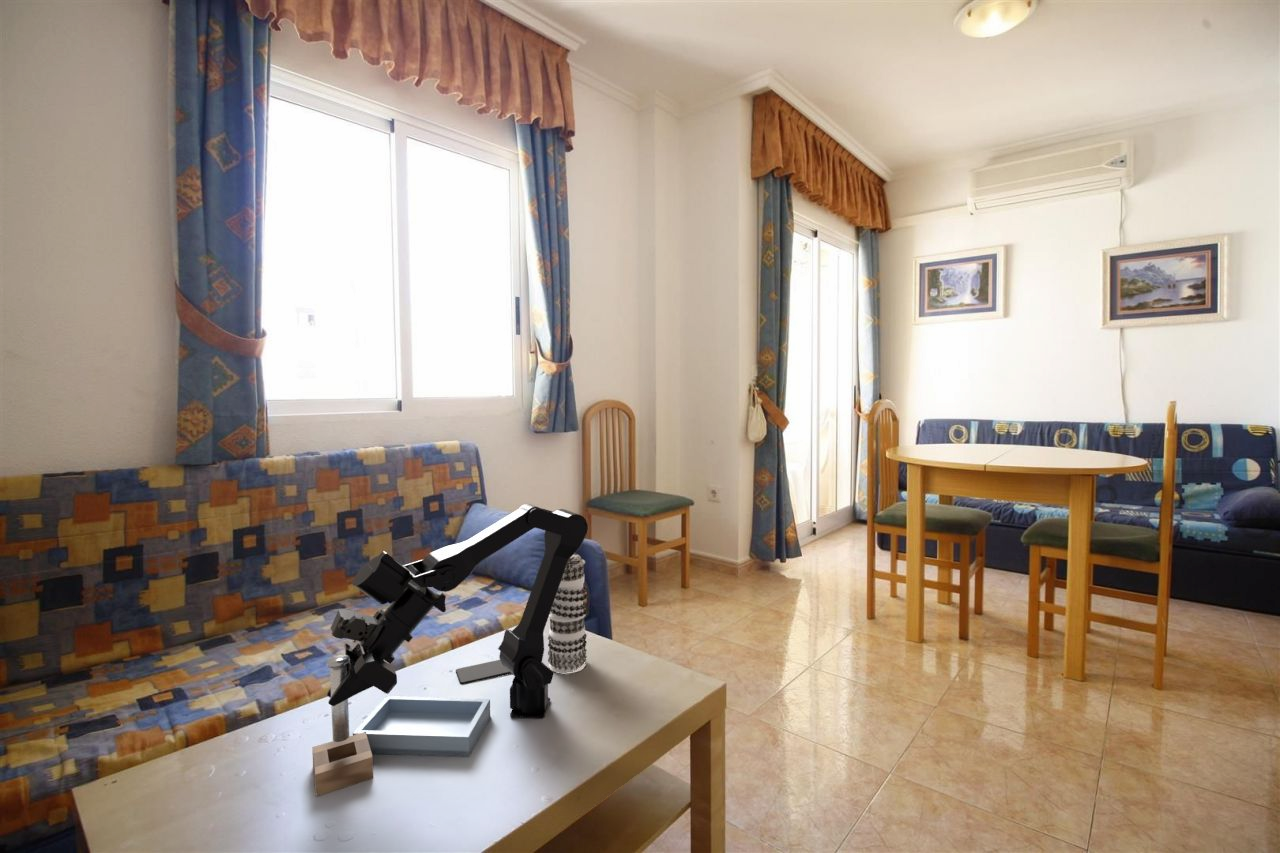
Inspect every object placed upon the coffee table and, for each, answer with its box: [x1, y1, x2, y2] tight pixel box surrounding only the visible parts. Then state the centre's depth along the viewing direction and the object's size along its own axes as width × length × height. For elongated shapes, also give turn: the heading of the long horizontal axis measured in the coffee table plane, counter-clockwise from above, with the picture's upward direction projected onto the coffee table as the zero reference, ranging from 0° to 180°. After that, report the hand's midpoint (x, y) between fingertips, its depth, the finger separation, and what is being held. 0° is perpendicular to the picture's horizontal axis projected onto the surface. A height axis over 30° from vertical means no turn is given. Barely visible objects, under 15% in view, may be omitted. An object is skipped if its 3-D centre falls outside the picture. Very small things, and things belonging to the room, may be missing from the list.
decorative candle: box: [547, 553, 588, 673], centre depth 131 cm, size 9×9×25 cm
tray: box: [352, 695, 491, 758], centre depth 105 cm, size 20×12×4 cm, turn 87°
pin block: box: [311, 732, 374, 797], centre depth 95 cm, size 8×8×4 cm
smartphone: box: [455, 659, 512, 685], centre depth 129 cm, size 7×1×15 cm
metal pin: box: [326, 654, 350, 742], centre depth 94 cm, size 3×3×13 cm
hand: (329, 700), depth 93 cm, fingers closed on metal pin, 2 cm apart
